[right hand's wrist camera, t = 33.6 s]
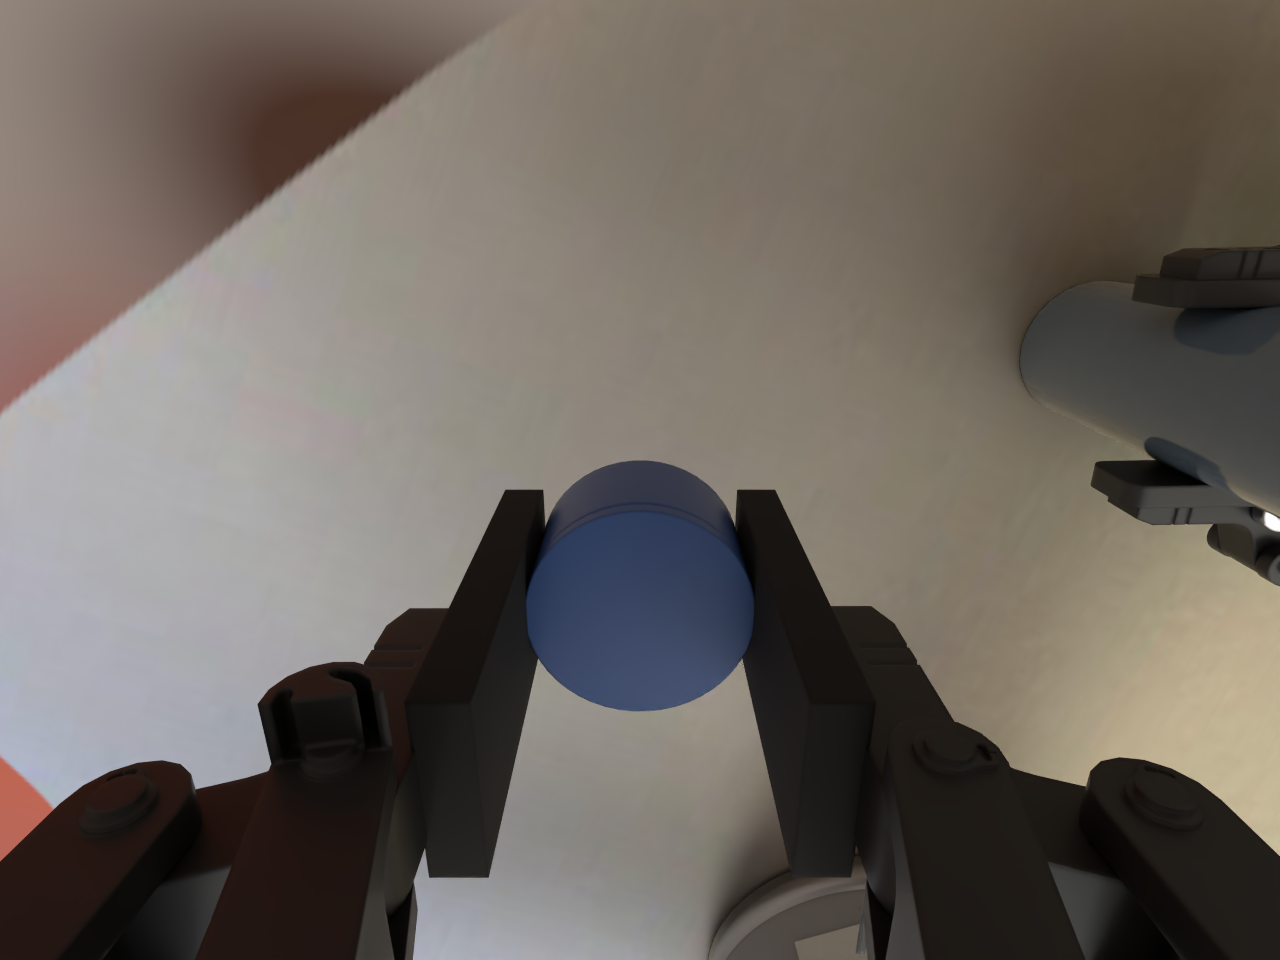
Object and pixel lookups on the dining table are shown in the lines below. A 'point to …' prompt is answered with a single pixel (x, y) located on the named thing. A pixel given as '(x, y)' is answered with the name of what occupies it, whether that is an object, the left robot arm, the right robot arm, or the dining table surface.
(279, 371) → the dining table surface
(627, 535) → the cap
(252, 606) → the dining table surface
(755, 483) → the dining table surface
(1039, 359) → the bottle
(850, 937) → the right robot arm
